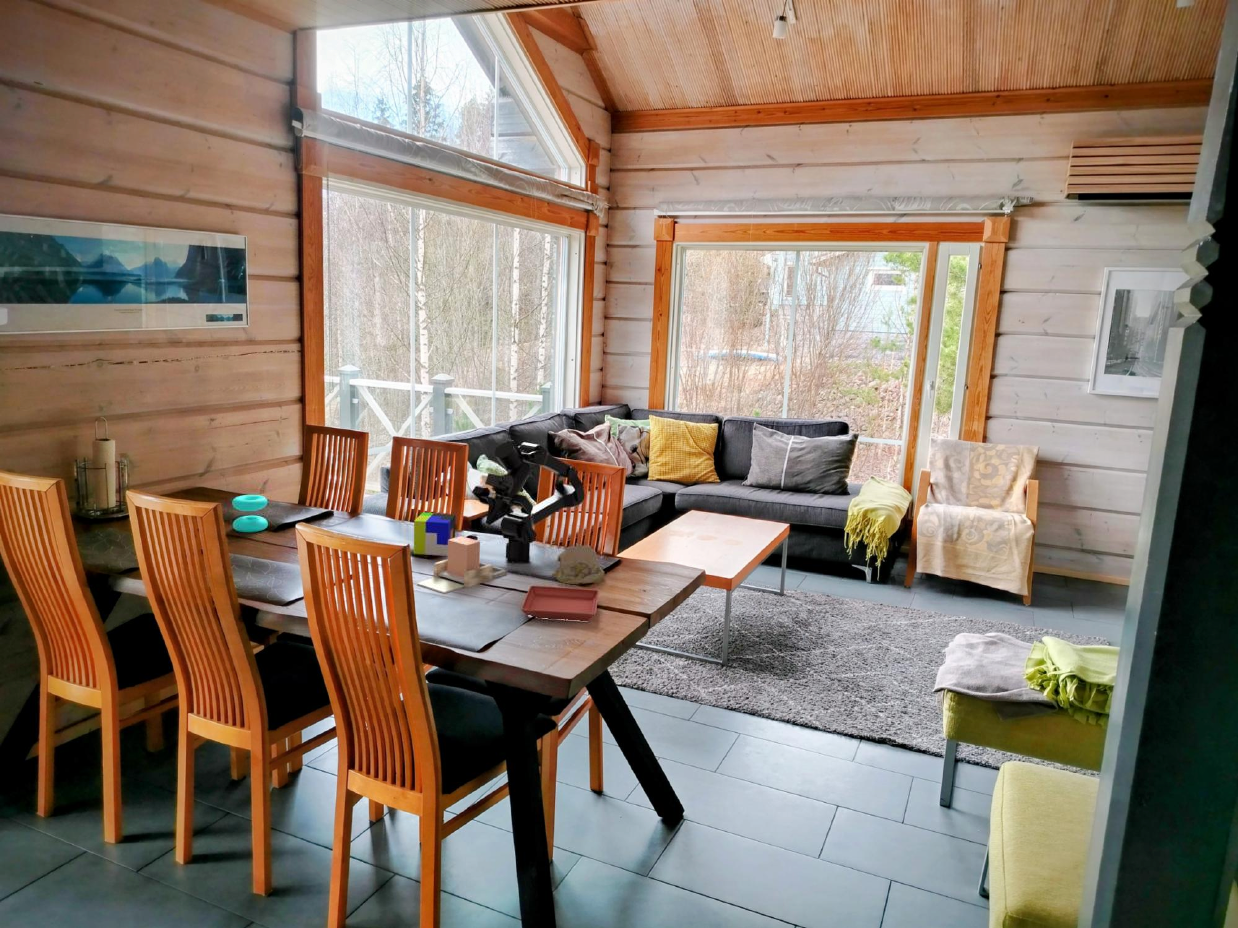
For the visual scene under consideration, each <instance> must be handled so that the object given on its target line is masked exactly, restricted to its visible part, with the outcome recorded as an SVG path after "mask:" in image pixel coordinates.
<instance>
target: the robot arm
mask: <svg viewBox="0 0 1238 928" xmlns="http://www.w3.org/2000/svg"><path fill="white" fill-rule="evenodd" d="M516 443H517V442H515V440H512V439H507V441H506V442H503V443H501V444H499V445H498V446H496V448H495V450H494V456H495V457H496V459H497V460H498V462H499V463H500V464H501V465H502V466H503V468H504V469H505V470H507V472H506V474H502V475H499V474H495V473H491V472H490V473H487V476H486V479H485V482H484V484H485V486H483V485H479V484H478V485H475V487H473V488H472V491H471V493H472V494H473V496H474V497H475V498H476V499H477V500H478V502H479V503H481V504H482V505H487V507H488V510H487V514H486V519H485V524H486V526H490V525H491V526H492V524H494V523H495V522H497V521H499V520H500V519H501V521H500V530H501V534H502V539H507V540H508V541H507V542H506V543H505V559H506V562H507V563H512V562H519V563H518V564H521V563H520V562H525V564H529V562H530V563H531V561H530V559H531V556H530V553H531V552H530V551H531V550H530V548H531V544H532V543H534V542H535V541H536V540H537V535H538V534H537V532H536V531H535V530H534V527H535V525H537V524H539V523H540V522H542V521H544V520H546V519H547V518H549V517H550V516H552V515H554V514H556V513H557V512H559V511H560V510H562V509H567V508H575V507H577V506H580V505H581V504H582V503H583V501H584V500H585V490H584V486H583V482H582V481H581V478H579V476H578V475H577V470H576V468H575V466H573V465H572V464H571V465H570V464H568V463H566V462H564V461H562V460H560V459H558V458H556V457H555V456H553V455H551V454H550V453H549V450H548V449H546V447H544V445H542V444H536V443H530V442H527V441H526V442H525V441H524V442H522V443H521V445H519V446H517V444H516ZM530 464H533V465H538V466H540V467H542V468H544V469H546V470H548V471H551V472H552V473H553V474H556V480H555V483H554V488H555V489H554V491H553V495H552V496H549V497H548V498H546V499H544V500H543V501H541V502H539V503H537V504H536V505H534V504H533V503H532V502H531V501H530V500H529V498H528V497H527V496H526V495H522V494H520V493H523V492H524V491H525V489H524V487H523V486H524V485H525V484H526V482H527V480H528V478H529V477H532V478H535V476H536V472H535V467H533V466H531V465H530ZM564 478H567V479H568V482H569V483H570V484H567V483H564ZM487 485H488V486H490V487H491V490H492V491H493V492H492V491H491V490H490V489H489V487H487ZM515 507H516V508H515ZM517 507H519V508H517ZM526 562H527V563H526Z"/></svg>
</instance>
